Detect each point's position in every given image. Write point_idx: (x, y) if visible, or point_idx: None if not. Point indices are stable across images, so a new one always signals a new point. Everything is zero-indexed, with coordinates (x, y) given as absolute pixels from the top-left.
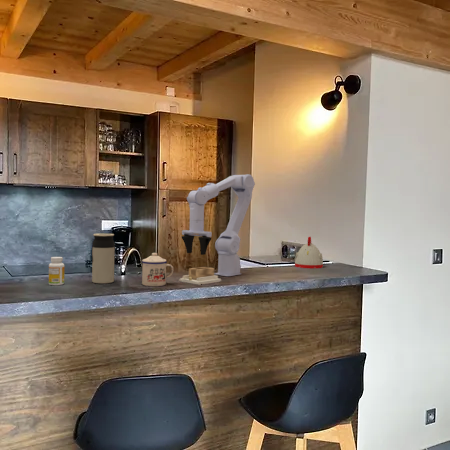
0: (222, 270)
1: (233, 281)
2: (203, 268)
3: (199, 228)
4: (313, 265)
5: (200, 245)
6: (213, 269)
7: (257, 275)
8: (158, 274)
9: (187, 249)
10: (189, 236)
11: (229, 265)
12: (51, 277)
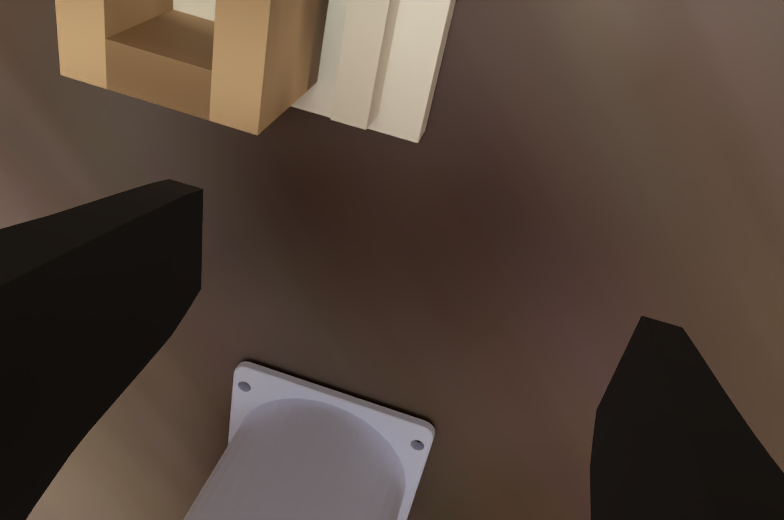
0: (297, 431)
1: (7, 117)
2: (223, 29)
3: None
4: None
5: (13, 268)
6: (72, 52)
7: (120, 511)
8: None
9: (663, 366)
10: None
11: (206, 488)
12: None
